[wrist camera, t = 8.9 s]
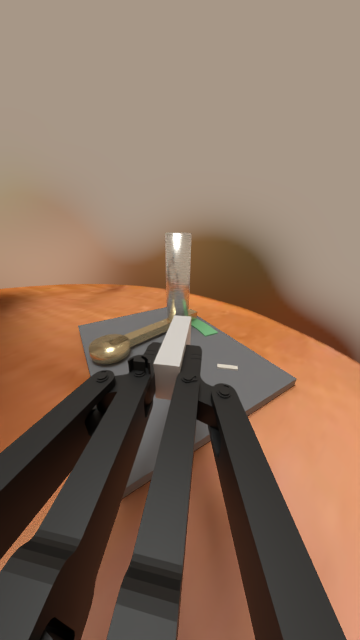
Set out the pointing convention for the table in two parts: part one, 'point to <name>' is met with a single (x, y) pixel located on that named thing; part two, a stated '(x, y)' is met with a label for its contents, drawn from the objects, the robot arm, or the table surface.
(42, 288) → the table surface
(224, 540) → the table surface
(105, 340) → the tuning peg
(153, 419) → the dial board
